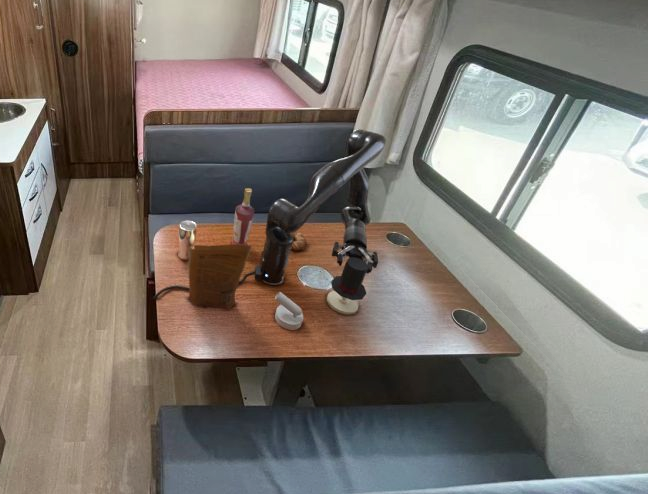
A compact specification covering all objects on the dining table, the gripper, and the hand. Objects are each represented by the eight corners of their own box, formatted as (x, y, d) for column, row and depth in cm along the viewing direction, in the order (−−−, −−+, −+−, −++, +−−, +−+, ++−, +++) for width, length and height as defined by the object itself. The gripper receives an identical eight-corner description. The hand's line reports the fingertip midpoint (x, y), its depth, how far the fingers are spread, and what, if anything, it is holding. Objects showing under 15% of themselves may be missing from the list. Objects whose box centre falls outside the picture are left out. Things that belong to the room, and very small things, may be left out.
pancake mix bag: (240, 314, 133) (252, 251, 118) (184, 308, 135) (189, 245, 120) (238, 298, 139) (250, 237, 124) (184, 293, 141) (190, 232, 126)
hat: (335, 297, 130) (343, 272, 124) (328, 274, 139) (336, 250, 134) (369, 302, 128) (379, 278, 122) (360, 279, 137) (370, 255, 132)
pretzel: (291, 255, 159) (293, 248, 157) (271, 240, 167) (273, 233, 165) (311, 246, 164) (313, 239, 162) (291, 232, 172) (293, 225, 170)
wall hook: (280, 283, 132) (310, 296, 128) (275, 303, 137) (304, 315, 133) (272, 300, 126) (304, 313, 121) (267, 320, 131) (298, 334, 126)
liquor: (249, 252, 160) (260, 195, 145) (231, 252, 160) (240, 195, 145) (245, 241, 166) (255, 185, 152) (228, 240, 166) (237, 184, 152)
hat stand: (329, 311, 134) (344, 273, 125) (324, 290, 143) (337, 252, 133) (360, 316, 133) (377, 278, 123) (353, 295, 141) (369, 257, 132)
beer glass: (197, 253, 159) (200, 223, 151) (189, 263, 154) (192, 233, 146) (182, 247, 162) (184, 218, 154) (174, 256, 157) (175, 227, 149)
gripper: (336, 226, 145) (334, 253, 132) (379, 237, 140) (381, 265, 127) (331, 242, 149) (328, 269, 136) (373, 253, 143) (374, 282, 131)
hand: (354, 267), depth 131 cm, fingers open, 8 cm apart
